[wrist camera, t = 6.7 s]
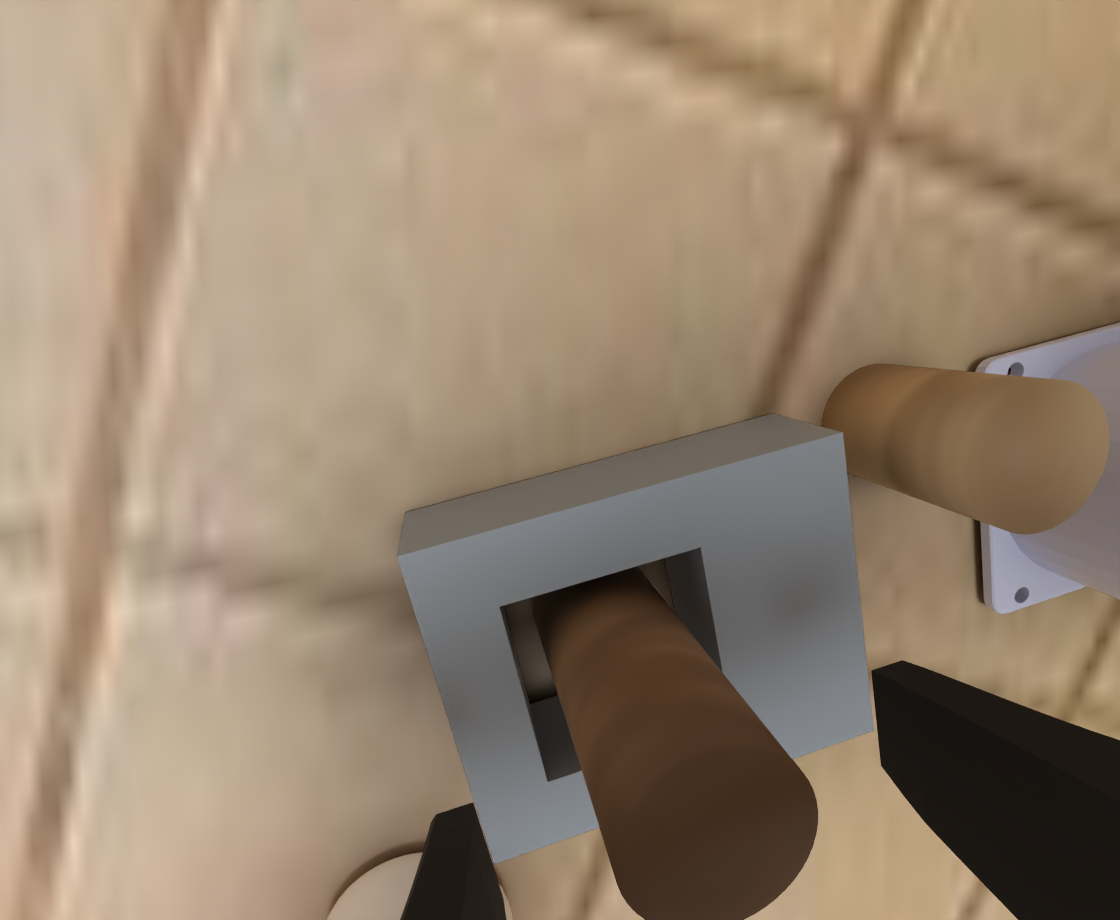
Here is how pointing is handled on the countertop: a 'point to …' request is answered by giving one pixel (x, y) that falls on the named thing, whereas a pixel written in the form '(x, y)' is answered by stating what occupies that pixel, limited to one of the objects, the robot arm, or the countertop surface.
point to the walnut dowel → (672, 757)
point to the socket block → (697, 591)
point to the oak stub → (974, 441)
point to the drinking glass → (384, 892)
